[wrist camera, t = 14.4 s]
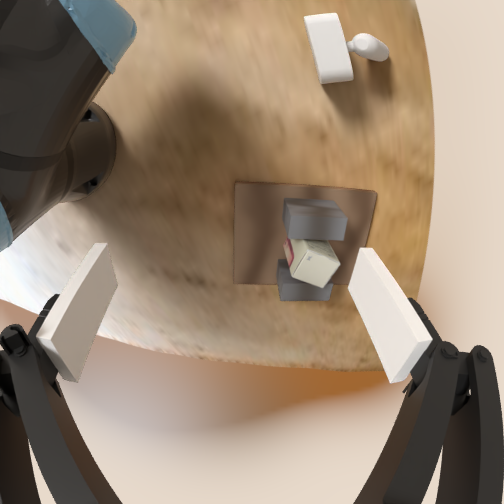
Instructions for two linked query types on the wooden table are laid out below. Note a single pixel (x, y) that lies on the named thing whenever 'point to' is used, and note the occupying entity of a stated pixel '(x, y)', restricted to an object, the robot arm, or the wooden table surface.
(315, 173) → the wooden table surface
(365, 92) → the wooden table surface
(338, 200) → the slotted post block
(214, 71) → the wooden table surface
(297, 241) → the small box
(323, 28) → the wall hook
